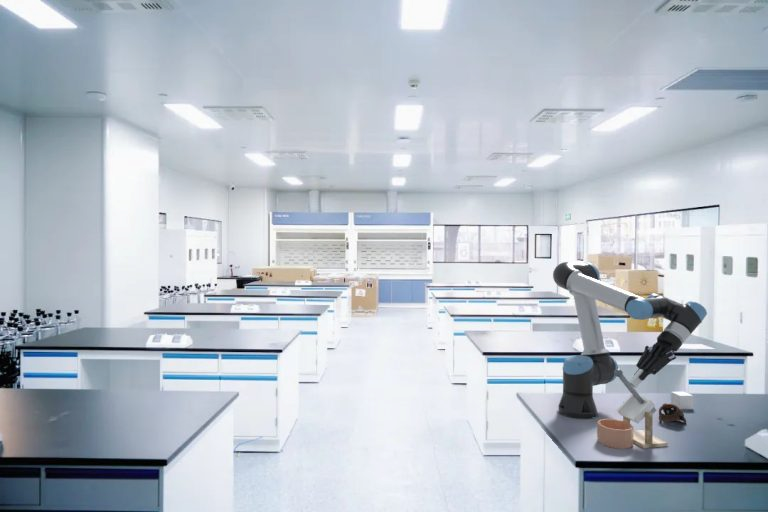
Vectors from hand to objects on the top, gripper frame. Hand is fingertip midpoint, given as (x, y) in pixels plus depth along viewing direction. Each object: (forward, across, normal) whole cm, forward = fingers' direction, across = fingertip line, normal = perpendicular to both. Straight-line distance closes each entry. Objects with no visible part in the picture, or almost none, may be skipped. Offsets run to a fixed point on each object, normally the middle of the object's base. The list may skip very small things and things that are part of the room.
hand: (632, 384), depth 171 cm
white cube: (-20, +30, -49) cm, 61 cm away
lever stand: (+11, 0, -17) cm, 21 cm away
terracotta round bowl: (+19, 0, -10) cm, 21 cm away
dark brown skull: (-6, +15, -36) cm, 39 cm away
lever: (+5, 0, -11) cm, 12 cm away
